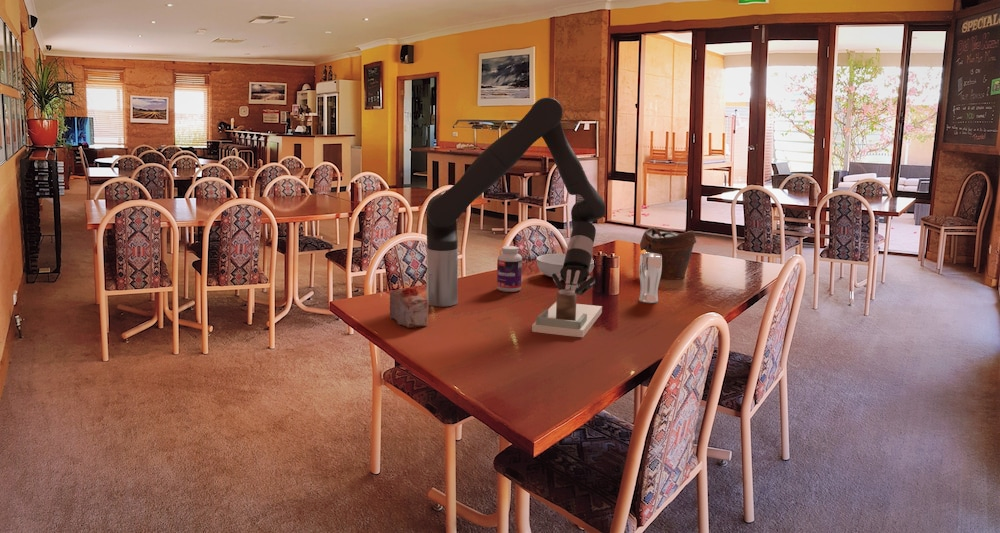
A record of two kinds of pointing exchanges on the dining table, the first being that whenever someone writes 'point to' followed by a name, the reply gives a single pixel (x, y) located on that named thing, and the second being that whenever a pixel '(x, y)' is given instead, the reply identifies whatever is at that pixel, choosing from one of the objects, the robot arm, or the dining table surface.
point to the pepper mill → (566, 305)
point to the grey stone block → (409, 308)
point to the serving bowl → (554, 264)
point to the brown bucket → (670, 250)
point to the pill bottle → (509, 269)
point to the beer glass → (650, 276)
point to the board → (567, 321)
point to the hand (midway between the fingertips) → (567, 305)
